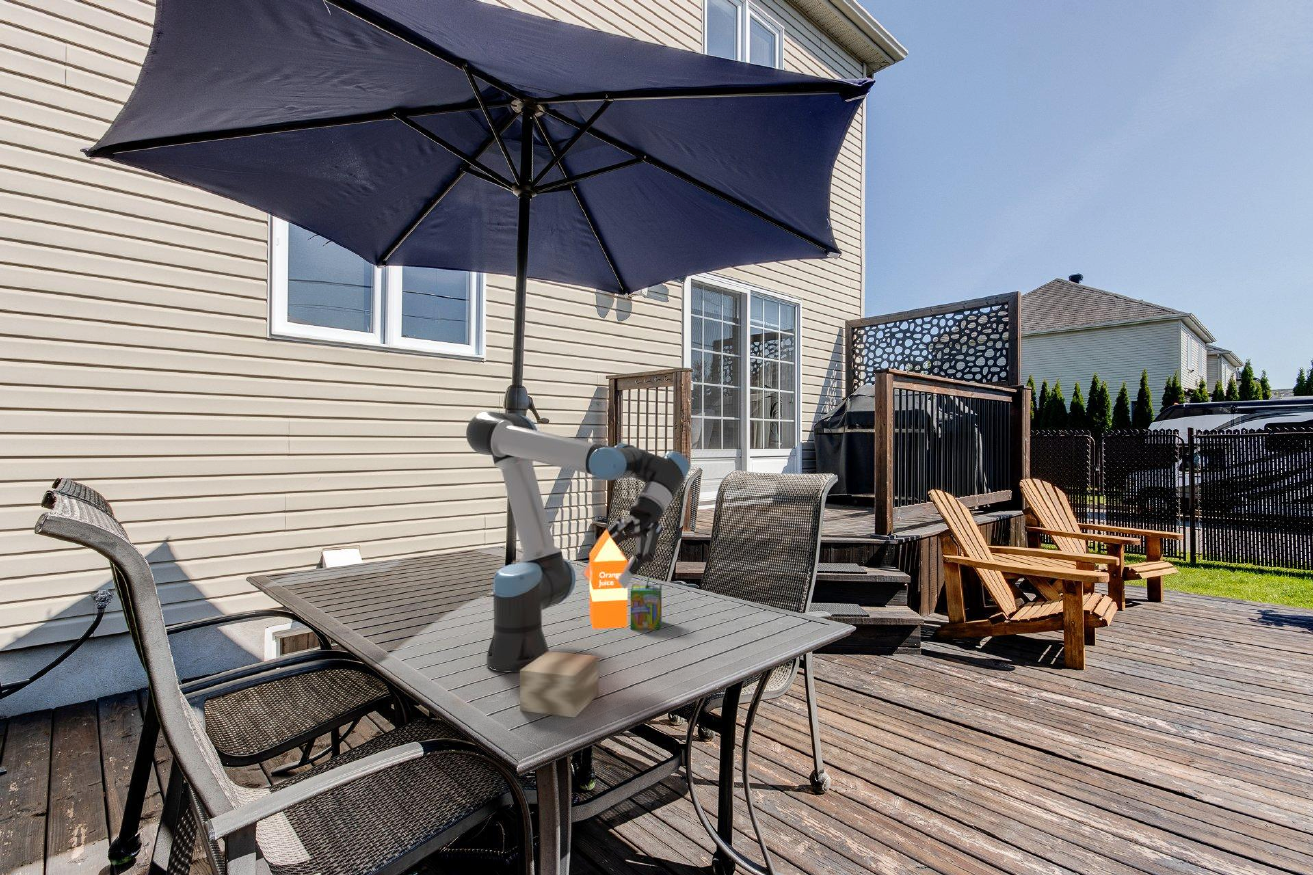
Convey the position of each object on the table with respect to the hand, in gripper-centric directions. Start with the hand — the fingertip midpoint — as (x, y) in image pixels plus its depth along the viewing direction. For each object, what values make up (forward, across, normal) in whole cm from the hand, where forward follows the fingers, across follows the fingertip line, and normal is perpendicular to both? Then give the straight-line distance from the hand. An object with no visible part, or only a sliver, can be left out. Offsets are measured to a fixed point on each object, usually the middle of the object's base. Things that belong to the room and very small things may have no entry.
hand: (602, 581), depth 132 cm
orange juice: (+5, +1, -8) cm, 10 cm away
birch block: (+24, +1, -9) cm, 26 cm away
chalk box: (-12, +25, -46) cm, 53 cm away
